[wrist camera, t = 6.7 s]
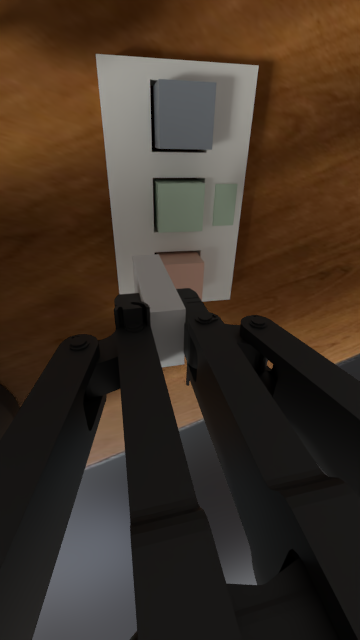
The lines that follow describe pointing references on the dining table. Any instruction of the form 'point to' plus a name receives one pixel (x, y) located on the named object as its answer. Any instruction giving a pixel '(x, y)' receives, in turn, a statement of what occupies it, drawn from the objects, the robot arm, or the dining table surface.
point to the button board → (175, 163)
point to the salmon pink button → (185, 270)
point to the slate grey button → (184, 114)
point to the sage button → (178, 205)
